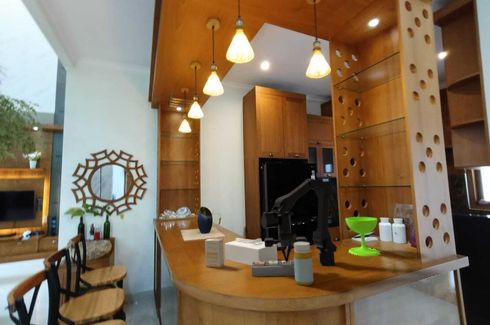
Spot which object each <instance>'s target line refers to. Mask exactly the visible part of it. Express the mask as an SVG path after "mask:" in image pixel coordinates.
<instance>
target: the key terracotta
mask: <svg viewBox="0 0 490 325" xmlns="http://www.w3.org/2000/svg"><path fill="white" fill-rule="evenodd" d="M255 266H265V265H264V261H255Z"/></svg>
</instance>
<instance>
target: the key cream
mask: <svg viewBox="0 0 490 325" xmlns="http://www.w3.org/2000/svg"><path fill="white" fill-rule="evenodd" d="M281 261H282V265H292V263H291V261H292V260H289V259H288V262H286V261H285V260H281Z"/></svg>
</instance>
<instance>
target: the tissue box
mask: <svg viewBox="0 0 490 325" xmlns="http://www.w3.org/2000/svg"><path fill="white" fill-rule="evenodd" d="M224 260H227V261H231V262H236V263H240V264H244V265H246V266H247V265H248V266H251V267H252V263H253V262H255V261H279V259H278V247H277V244H273V246H272V247H265V241H262V238H256V239H246V238H241V237H236V238H235V239H234V240H233V241H229V242H225V243H224Z"/></svg>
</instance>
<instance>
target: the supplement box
mask: <svg viewBox="0 0 490 325" xmlns="http://www.w3.org/2000/svg"><path fill="white" fill-rule="evenodd" d="M204 246H205V247H204V249H205V268H206V267H207V268H217V269H218V268H219V269H220V268H222V267H224V266H225V251H224V239H223V238H207V239H205V240H204Z"/></svg>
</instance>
